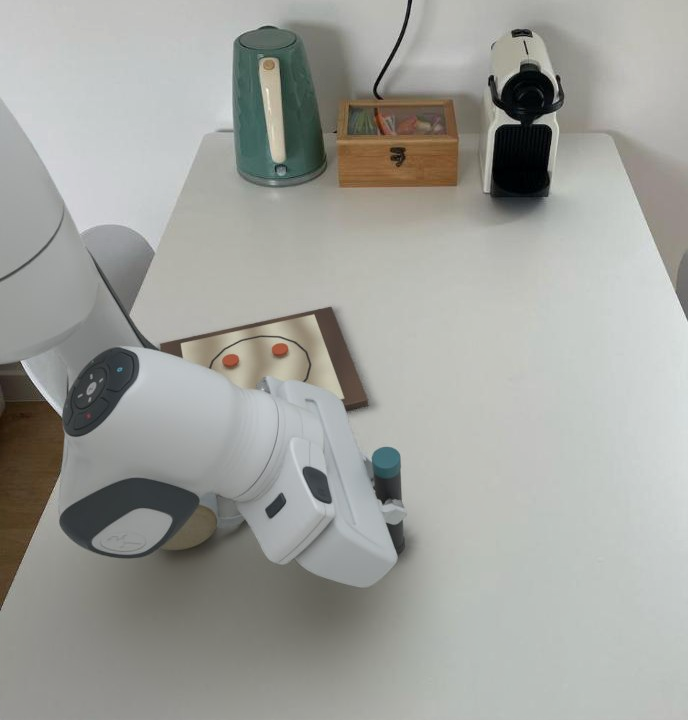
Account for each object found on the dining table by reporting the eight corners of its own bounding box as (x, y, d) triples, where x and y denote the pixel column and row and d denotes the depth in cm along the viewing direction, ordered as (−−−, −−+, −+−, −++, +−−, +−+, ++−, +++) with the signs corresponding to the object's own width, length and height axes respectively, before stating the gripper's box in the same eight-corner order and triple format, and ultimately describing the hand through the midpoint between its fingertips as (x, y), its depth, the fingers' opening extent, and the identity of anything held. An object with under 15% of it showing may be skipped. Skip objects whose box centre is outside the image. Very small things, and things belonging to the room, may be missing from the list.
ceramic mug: (151, 564, 78) (131, 515, 73) (145, 499, 84) (127, 450, 79) (259, 536, 81) (248, 487, 75) (247, 475, 86) (235, 425, 81)
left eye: (223, 368, 96) (223, 366, 96) (221, 357, 98) (221, 356, 97) (240, 364, 97) (240, 362, 96) (238, 354, 98) (237, 352, 98)
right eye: (273, 357, 97) (273, 355, 97) (270, 346, 99) (270, 345, 99) (289, 353, 98) (289, 351, 98) (286, 343, 99) (286, 341, 99)
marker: (382, 558, 78) (375, 472, 69) (375, 537, 80) (367, 450, 71) (408, 551, 78) (404, 464, 70) (400, 530, 80) (396, 442, 71)
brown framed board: (175, 452, 89) (172, 445, 88) (161, 349, 102) (159, 342, 101) (368, 405, 93) (367, 398, 92) (332, 312, 106) (331, 305, 105)
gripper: (232, 394, 74) (345, 439, 83) (272, 580, 60) (404, 611, 68) (273, 347, 72) (384, 398, 81) (325, 528, 58) (454, 567, 66)
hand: (394, 497), depth 74 cm, fingers closed on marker, 2 cm apart
